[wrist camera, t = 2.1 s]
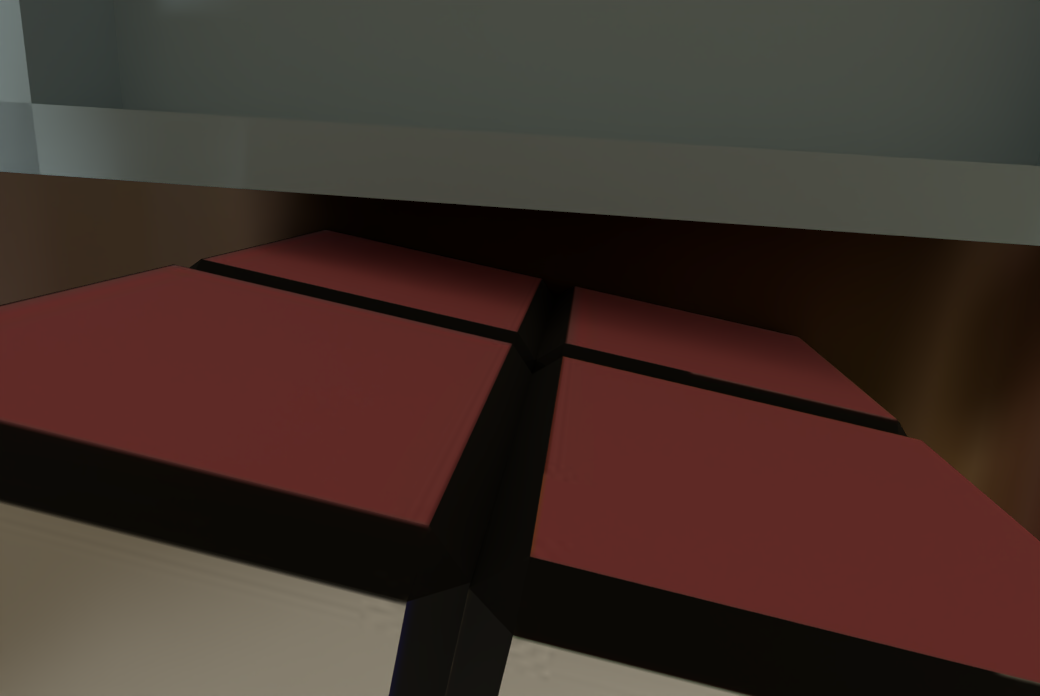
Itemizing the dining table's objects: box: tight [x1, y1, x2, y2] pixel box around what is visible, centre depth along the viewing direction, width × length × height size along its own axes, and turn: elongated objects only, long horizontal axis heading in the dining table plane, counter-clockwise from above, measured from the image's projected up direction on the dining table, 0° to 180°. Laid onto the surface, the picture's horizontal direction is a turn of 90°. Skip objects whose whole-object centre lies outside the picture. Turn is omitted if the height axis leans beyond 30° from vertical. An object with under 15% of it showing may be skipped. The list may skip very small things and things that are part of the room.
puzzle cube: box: [0, 230, 1040, 696], centre depth 10 cm, size 10×10×10 cm
